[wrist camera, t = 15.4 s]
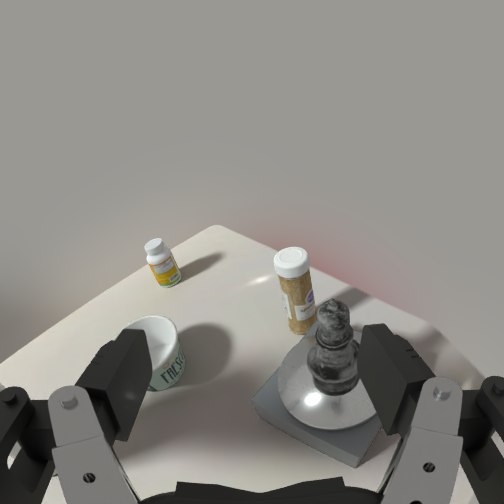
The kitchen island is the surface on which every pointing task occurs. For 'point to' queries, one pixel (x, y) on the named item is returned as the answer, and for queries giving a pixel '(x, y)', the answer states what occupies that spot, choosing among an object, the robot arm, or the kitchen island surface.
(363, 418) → the scale pan
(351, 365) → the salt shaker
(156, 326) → the food container
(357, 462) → the kitchen scale
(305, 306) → the sprinkles bottle
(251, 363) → the kitchen island surface
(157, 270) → the supplement bottle
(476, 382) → the kitchen island surface
